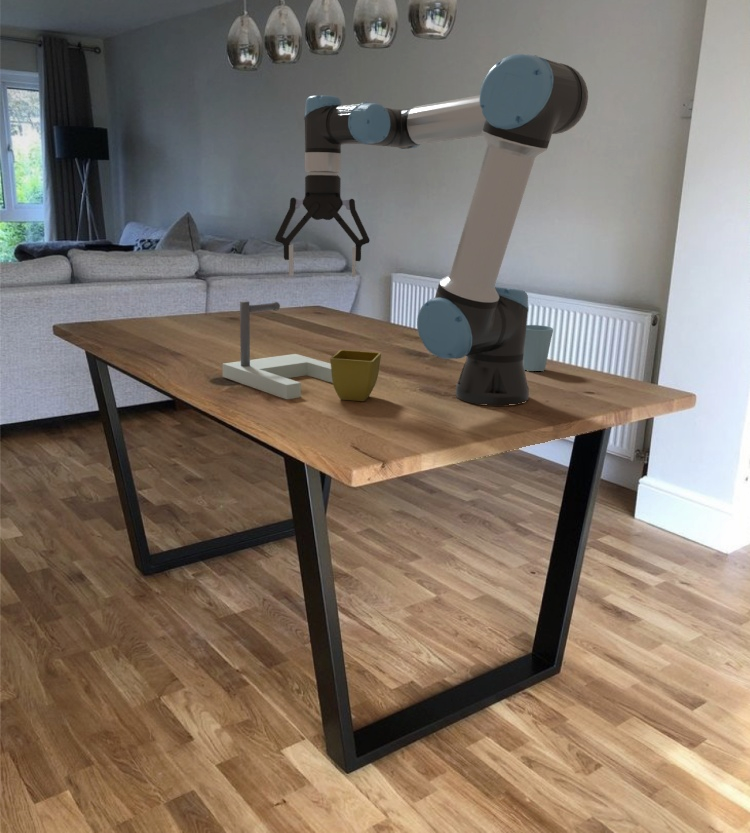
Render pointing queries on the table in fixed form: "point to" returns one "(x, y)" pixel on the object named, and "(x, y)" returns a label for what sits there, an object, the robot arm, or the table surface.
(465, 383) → the robot arm
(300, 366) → the l-shaped hook stand
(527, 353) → the cup
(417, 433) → the table surface
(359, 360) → the flower pot
